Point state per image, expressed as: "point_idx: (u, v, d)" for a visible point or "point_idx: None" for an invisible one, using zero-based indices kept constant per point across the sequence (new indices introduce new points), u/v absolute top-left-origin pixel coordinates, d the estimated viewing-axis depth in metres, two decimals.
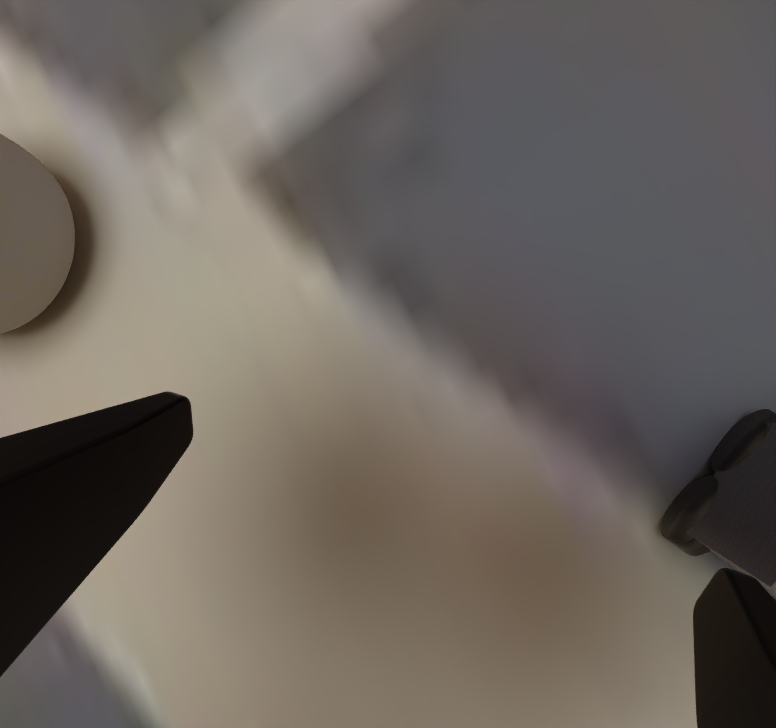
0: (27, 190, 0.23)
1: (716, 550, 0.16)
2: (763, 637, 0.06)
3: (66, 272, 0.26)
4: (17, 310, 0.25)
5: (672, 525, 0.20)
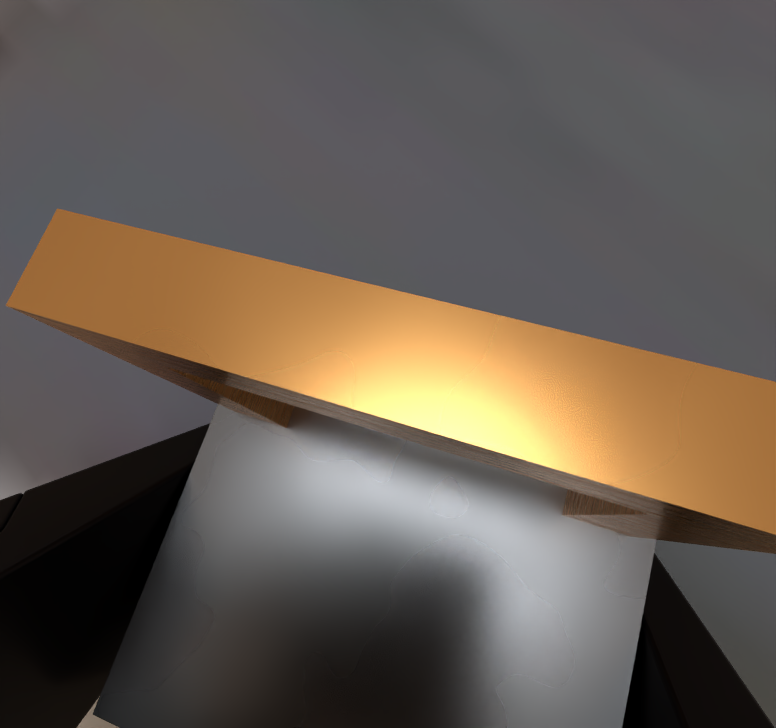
0: None
1: None
2: None
3: None
4: None
5: None
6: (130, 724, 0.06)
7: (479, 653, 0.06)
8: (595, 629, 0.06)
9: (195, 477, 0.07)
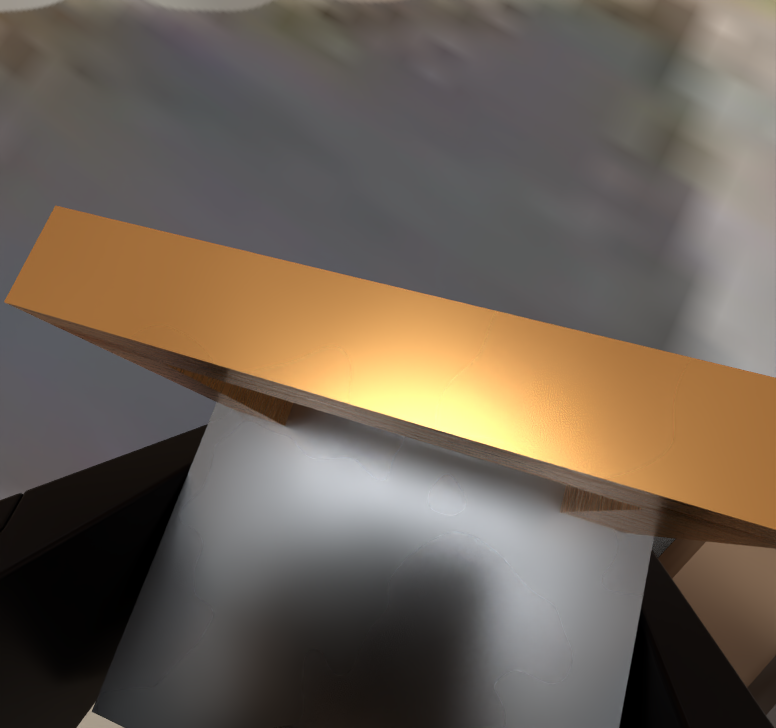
0: None
1: None
2: None
3: None
4: None
5: None
6: (129, 723, 0.06)
7: (476, 651, 0.06)
8: (593, 626, 0.06)
9: (194, 475, 0.07)
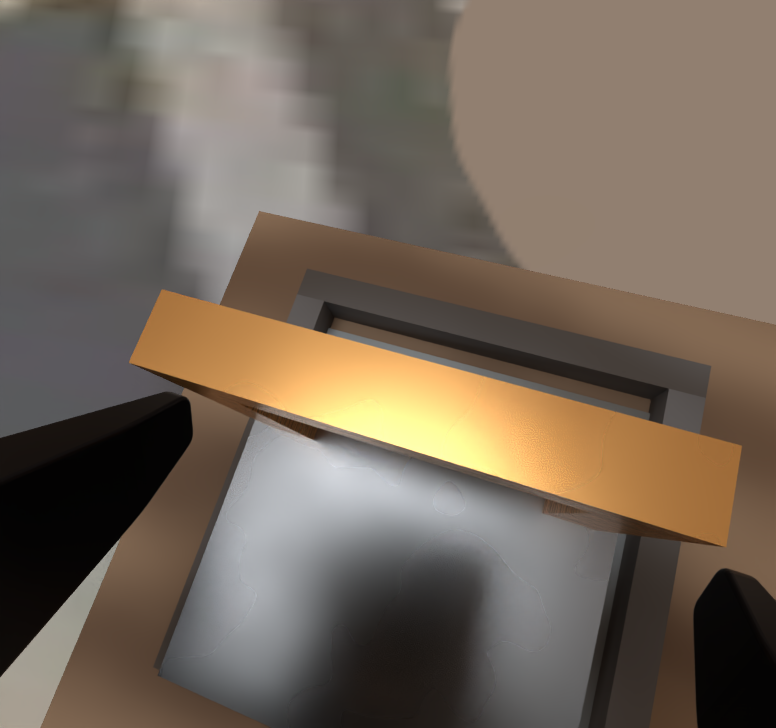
0: None
1: None
2: (763, 637, 0.06)
3: None
4: None
5: None
6: (189, 684, 0.08)
7: (473, 625, 0.07)
8: (567, 605, 0.07)
9: (237, 481, 0.09)
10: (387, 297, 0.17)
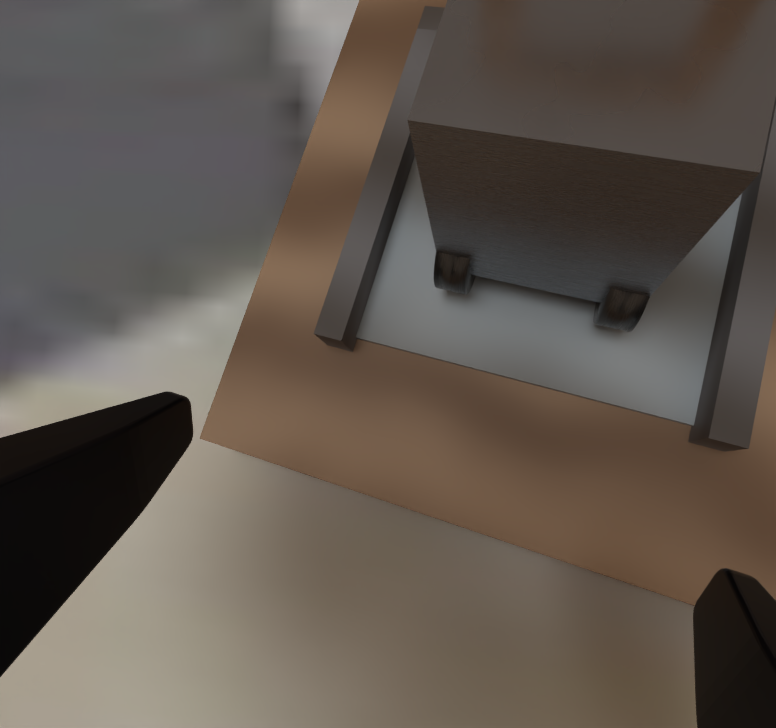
0: None
1: (427, 206, 0.13)
2: (764, 637, 0.06)
3: None
4: None
5: None
6: (435, 120, 0.10)
7: (678, 42, 0.09)
8: (761, 16, 0.09)
9: None
10: None
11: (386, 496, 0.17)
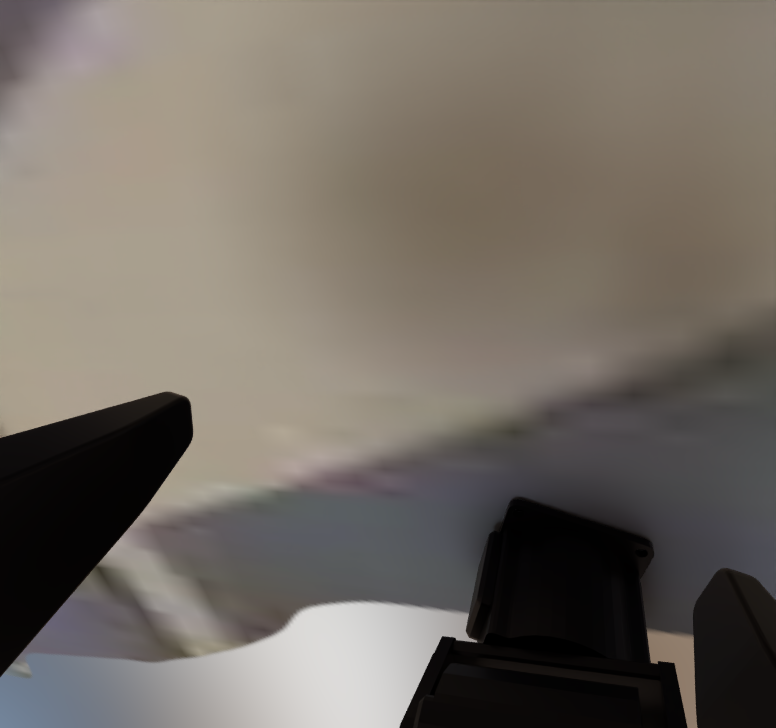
0: None
1: None
2: (763, 637, 0.06)
3: None
4: None
5: None
6: None
7: None
8: None
9: None
10: None
11: None
